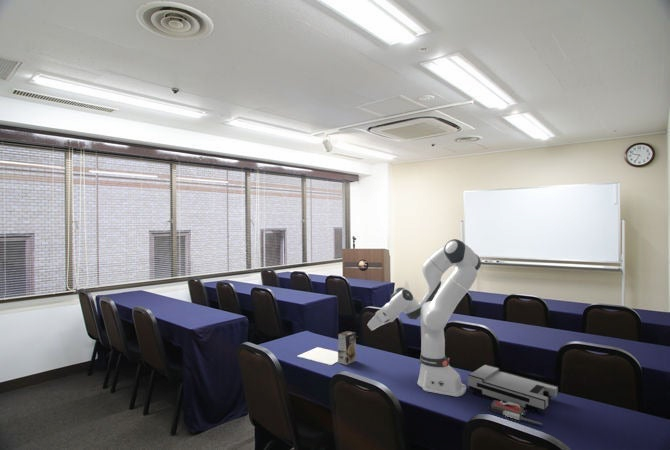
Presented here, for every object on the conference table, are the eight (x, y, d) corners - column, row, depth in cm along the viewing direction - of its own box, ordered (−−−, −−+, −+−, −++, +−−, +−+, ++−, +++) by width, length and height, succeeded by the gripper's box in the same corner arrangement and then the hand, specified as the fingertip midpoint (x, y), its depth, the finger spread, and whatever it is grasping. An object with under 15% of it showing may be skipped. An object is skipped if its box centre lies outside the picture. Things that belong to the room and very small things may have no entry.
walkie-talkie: (486, 413, 152) (541, 429, 140) (486, 402, 152) (541, 417, 140) (491, 405, 159) (544, 419, 147) (491, 394, 159) (544, 408, 148)
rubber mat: (350, 355, 219) (350, 354, 219) (331, 365, 202) (331, 364, 202) (317, 347, 232) (317, 347, 232) (297, 356, 215) (297, 355, 215)
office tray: (544, 418, 148) (544, 398, 148) (467, 393, 171) (467, 375, 171) (558, 401, 163) (558, 383, 163) (485, 380, 185) (486, 364, 186)
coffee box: (346, 365, 203) (347, 335, 203) (337, 362, 206) (337, 333, 207) (356, 360, 210) (356, 332, 210) (346, 358, 214) (347, 330, 214)
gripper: (393, 305, 205) (377, 320, 211) (375, 312, 188) (359, 328, 194) (400, 314, 202) (384, 329, 208) (383, 322, 186) (366, 338, 191)
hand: (372, 329), depth 201 cm, fingers closed
